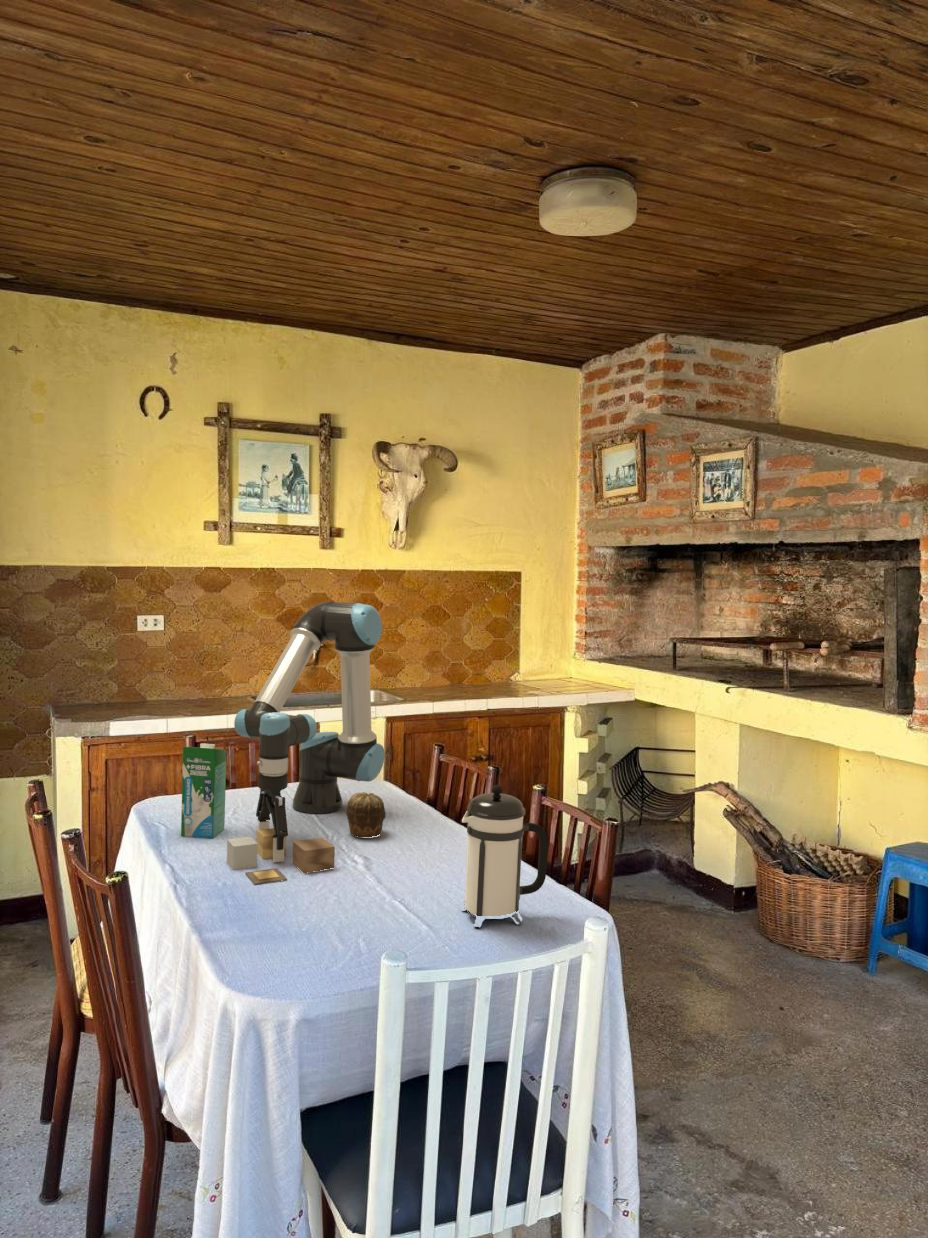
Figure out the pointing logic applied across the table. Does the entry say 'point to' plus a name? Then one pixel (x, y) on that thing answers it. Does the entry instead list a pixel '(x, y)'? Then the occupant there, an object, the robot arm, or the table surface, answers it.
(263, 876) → the tile
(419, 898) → the table surface
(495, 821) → the coffee press
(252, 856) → the beige cube
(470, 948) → the table surface
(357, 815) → the shell
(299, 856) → the walnut block
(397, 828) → the table surface
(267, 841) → the maple cube
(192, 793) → the milk carton
